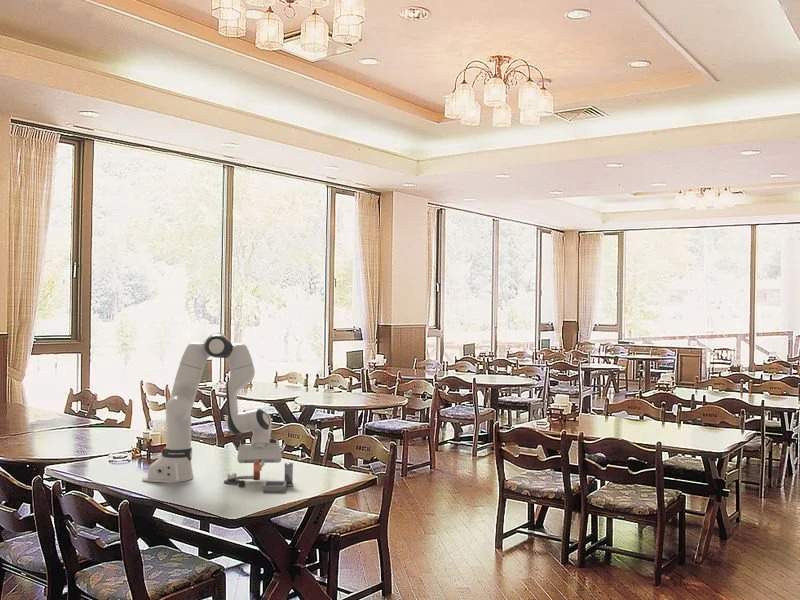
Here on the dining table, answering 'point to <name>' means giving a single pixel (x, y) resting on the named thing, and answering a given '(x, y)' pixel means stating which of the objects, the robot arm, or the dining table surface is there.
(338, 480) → the dining table surface
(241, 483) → the stop block
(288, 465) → the pin
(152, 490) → the dining table surface
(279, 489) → the tray
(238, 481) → the crank base
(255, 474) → the crank
